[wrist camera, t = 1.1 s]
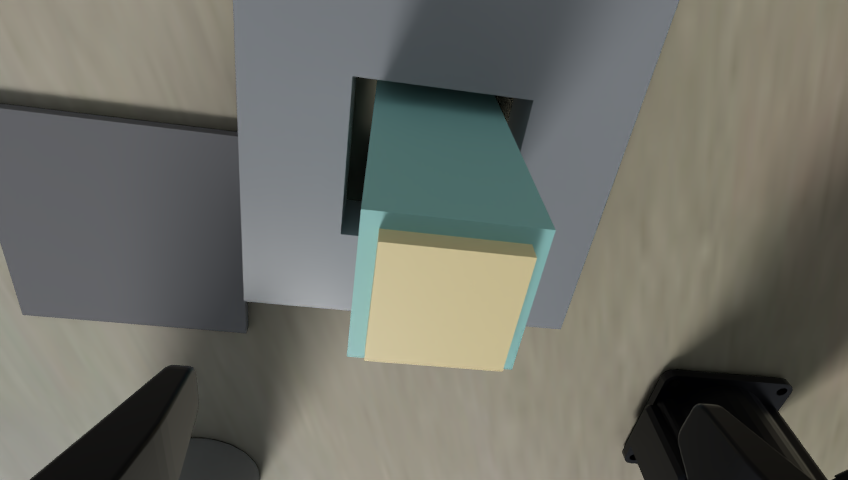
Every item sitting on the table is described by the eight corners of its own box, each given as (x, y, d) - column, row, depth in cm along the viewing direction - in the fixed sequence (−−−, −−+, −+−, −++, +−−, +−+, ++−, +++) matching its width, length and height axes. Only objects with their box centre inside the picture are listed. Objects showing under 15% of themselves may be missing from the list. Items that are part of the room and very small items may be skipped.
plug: (493, 93, 19) (561, 243, 11) (472, 196, 21) (515, 384, 13) (377, 78, 19) (359, 221, 11) (366, 184, 21) (345, 371, 13)
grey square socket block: (646, -15, 17) (679, -2, 15) (546, 289, 24) (560, 329, 21) (252, -77, 16) (230, -73, 14) (258, 262, 22) (243, 301, 20)
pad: (242, 132, 19) (239, 136, 19) (248, 327, 24) (246, 333, 24) (-35, 99, 18) (-43, 103, 18) (28, 308, 23) (22, 314, 23)
